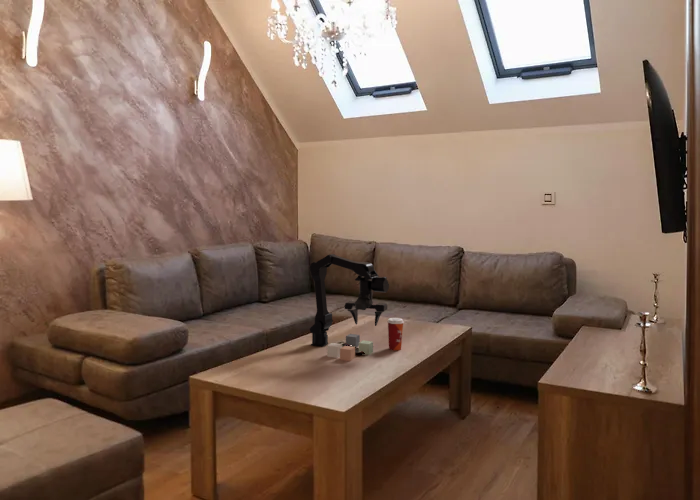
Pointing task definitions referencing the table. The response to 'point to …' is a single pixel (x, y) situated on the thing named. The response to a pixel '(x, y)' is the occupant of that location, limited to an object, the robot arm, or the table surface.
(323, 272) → the robot arm
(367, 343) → the sage cube
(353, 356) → the terracotta cube
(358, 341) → the charcoal cube
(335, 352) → the cream cube
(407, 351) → the table surface
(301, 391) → the table surface
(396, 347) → the paper cup
